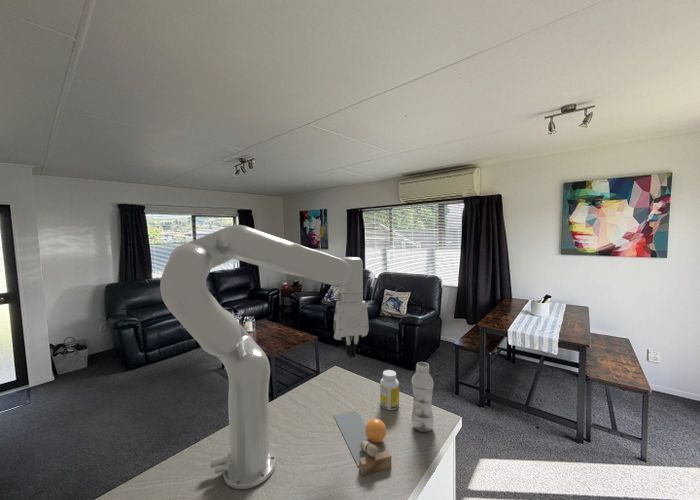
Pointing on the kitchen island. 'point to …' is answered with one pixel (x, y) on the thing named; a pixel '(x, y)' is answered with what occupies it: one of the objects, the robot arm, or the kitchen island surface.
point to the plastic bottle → (422, 398)
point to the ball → (375, 430)
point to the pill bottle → (389, 390)
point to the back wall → (375, 463)
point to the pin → (368, 448)
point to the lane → (354, 433)
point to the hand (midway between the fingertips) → (351, 355)
